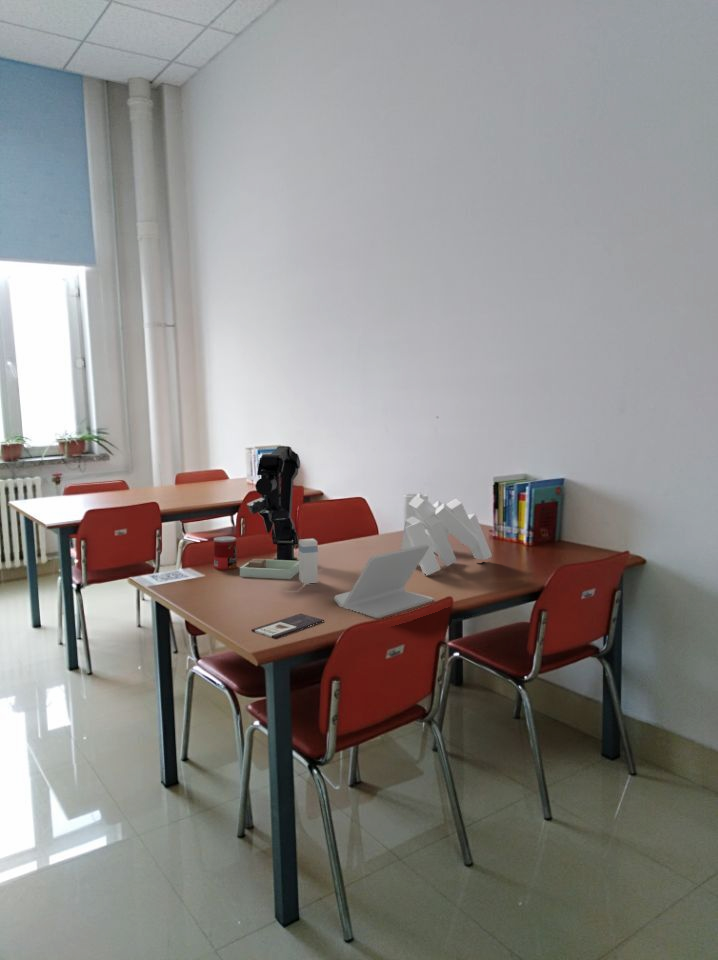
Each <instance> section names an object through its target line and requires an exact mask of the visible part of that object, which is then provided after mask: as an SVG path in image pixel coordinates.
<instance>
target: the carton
mask: <svg viewBox="0 0 718 960" xmlns="http://www.w3.org/2000/svg"><path fill="white" fill-rule="evenodd" d="M318 549H319V548H318V541H317V540H316V539H315V538H304V539H303V538H302V539H299V538H298V561H299V572H298V580H299V581H300V582H301V583H302V584H305V585H310V584H309V583H317V584H318V583H319V582H318V579H319V578H318V577H319V575H318V574H319V572H318V571H319V570H318V569H319V568H318V567H319V565H318V561H319V557H318V555H319V554H318V553H319V552H318V551H319V550H318Z"/></svg>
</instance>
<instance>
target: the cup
mask: <svg viewBox="0 0 718 960" xmlns="http://www.w3.org/2000/svg"><path fill="white" fill-rule="evenodd" d="M418 494H419V493H408V494H407V493H406V494H404V495H403V522H404V523H405V520H406V519H408V518H410V517H415V518H416V519H418V520H420V518H419V517H418V516H417V514H416V513H415V512H414V511H413V509H412V508H411V507H410V506H409V503H410V501H411V500H412V499H413V498H414V497H415V496H416V495H418ZM421 494H422V495H423V496H424V497H425V498H426V499H427V500H428V501H429V496H428V494H425V493H421ZM420 521H421V520H420ZM421 522H422V521H421ZM423 527H424V528H425V529H427V527H426V526H425V525H424V523H423Z"/></svg>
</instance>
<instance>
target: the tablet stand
mask: <svg viewBox="0 0 718 960" xmlns="http://www.w3.org/2000/svg"><path fill="white" fill-rule="evenodd" d="M428 549H429V546H428V544H426V545H422V546H417V547H413V548H408V549H404V550H401V549H400V550H396V551H391V552H386V553H382V554H378V555H377V554H376V555H373V556H371V557H370V558H369V559H368V561H367V563H366V564H365V566H364V568H363V569H362V571H361V572H360V573H361V574H359V576H358V578H357V579H356V582H355V583H354V585H353V587H352V588H351V590H350V591H347V592H343V593H342V592H341V593H340V594H339V593H338V594H336V595H335V596H334V598H333V599H334V601H335V603H337V605H338V606H339V607H340V608H342V607H344V608H343V609H345V608H346V609H345V610H348V609H350V610H349V611H352V610H353V611H352V612H355V611H356V613H358V612H360V613H359V614H362V613H363V614H362V615H365V614H366V616H369V617H372V618H376V619H380V618H383V617H386V616H389V615H392V614H396V613H399V612H402V611H405V610H408V609H412V608H414V607H417V606H420V605H424V604H427V603H426V602H428V601H431V600H433V601H434V597H431V596H427V595H424V594H420V593H416V592H411V591H408V590H406V589H405V587H406V585H407V583H408V581H409V580H410V578H411V577H412V575H413V574H414V572H415V570H416V569H417V567H418V566H419V565H420V564H419V563H420V561H421V560H422V558H423V557H424V555H425V553H426V552H427V550H428ZM431 602H432V601H431ZM428 603H429V602H428Z"/></svg>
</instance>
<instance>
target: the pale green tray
mask: <svg viewBox="0 0 718 960" xmlns="http://www.w3.org/2000/svg"><path fill="white" fill-rule="evenodd" d="M253 559H254V558H252V559H251V560H253ZM265 559H266V568H249V562H250V561H251V560H249V561H247V562H246V563H245V564H243V565H242V566H240V567H239V577H241V578H242V577H243V578H259V579H260V578H262V579H280V580H291V579H292V578H293V577H295V576H296V575H297V574H299V560H290V561H289V560H274V559H267V558H265Z"/></svg>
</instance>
